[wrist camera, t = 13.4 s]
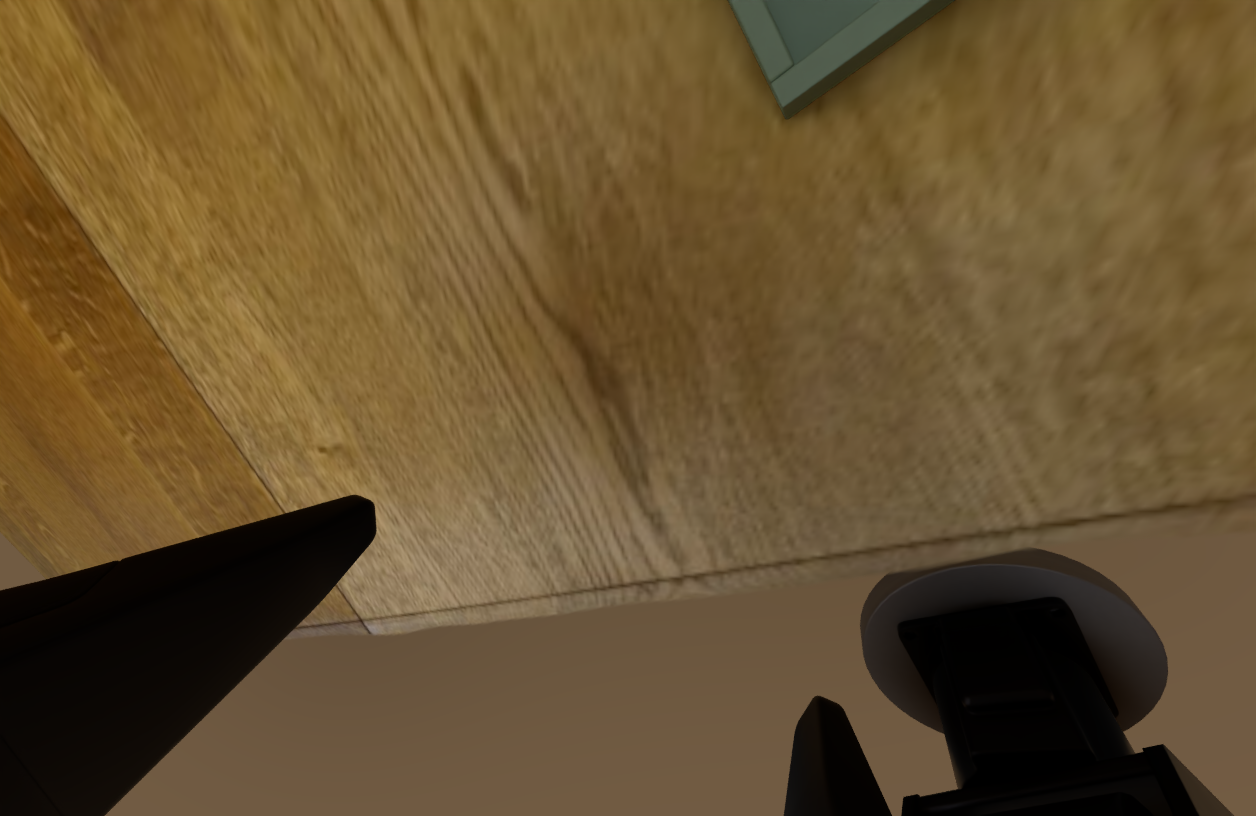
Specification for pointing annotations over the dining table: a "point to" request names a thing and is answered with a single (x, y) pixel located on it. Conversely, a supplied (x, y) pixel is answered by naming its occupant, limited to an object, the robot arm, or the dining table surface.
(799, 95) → the tray
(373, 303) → the dining table surface
